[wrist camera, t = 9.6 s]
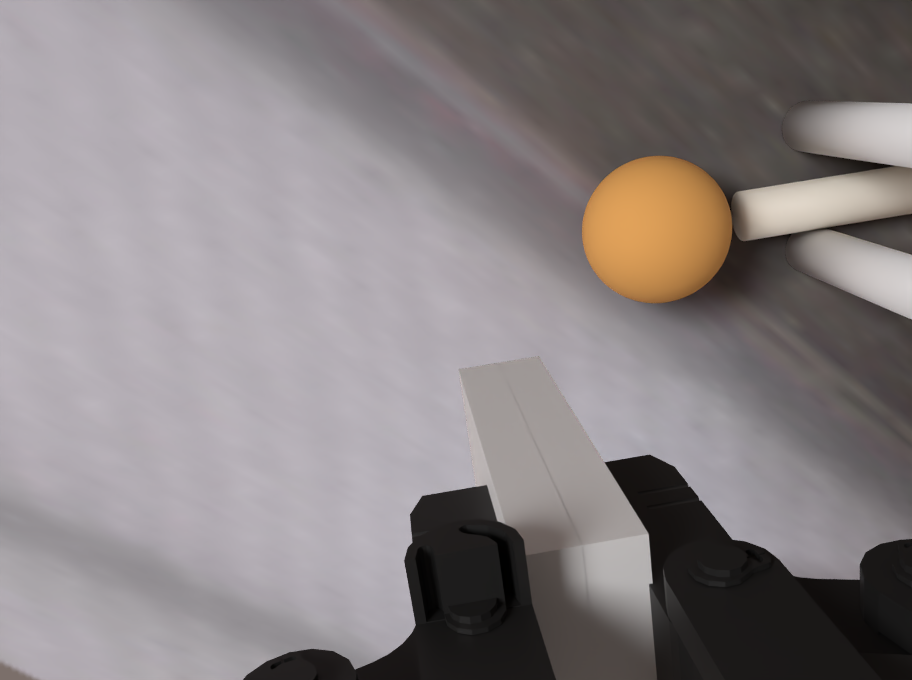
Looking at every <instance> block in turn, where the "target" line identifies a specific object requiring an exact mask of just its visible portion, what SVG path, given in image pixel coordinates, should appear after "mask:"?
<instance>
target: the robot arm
mask: <svg viewBox="0 0 912 680" xmlns="http://www.w3.org/2000/svg"><path fill="white" fill-rule="evenodd" d="M459 376H460V383H461V390H462V396H463V403H464V410H465V417H466V423H467V430H468V437H469V444H470V451H471V457H472V464H473V471H474V478H475V484H476V487H472V488H466V489H461V490H455V491H449V492H443V493H437V494H431V495H426V496H422V497H421V499H420V500H419V502H418V503H417V505H416V506H415V508H414V510H413V511H412V513H411V514H410V519H411V531H412V542H413V543H412V544H411V545H410V546H409V547H408V549H407V553H406V556H405V560H404V562H405V567H406V573H407V578H408V584H409V590H410V595H411V601H412V606H413V612H414V617H415V623H416V626H415V628H414V630H413V632H412V634H411V635H410V636H409V637H408V638H407V639H406V641H405V642H404V643H403V644H402V645H401V646H399V647H398V648H397V649H395V650H394V651H393V652H391V653H390V654H388V655H386V656H384V657H382V658H380V659H378V660H376V661H375V662H373V663H370V664H368V665H365V666H363V667H360V668H358V669H356V670H355V669H354V668H353V666H352V664H351V662H350V661H349V659H347V658H345V657H343V656H341V655H339V654H337V653H336V652H334V651H327V650H318V649H309V650H302V651H296V652H289V653H287V654H284V655H282V656H279V657H277V658H274V659H272V660H269V661H267V662H265V663H264V664H262V665H261V666H259V667H258V668H257V669H255V670H254V671H252V672H251V673H249V674H248V675H247V676H246V677H245V678H244V679H243V680H912V539H906V540H898V541H893V542H888V543H883V544H880V545H878V546H876V547H874V548H873V549H871V550H869V551H867V552H866V553H865V555H864V557H863V559H862V561H861V563H860V580H839V579H812V578H800V577H794V576H793V575H792V574H791V573H790V572H789V571H788V570H787V568H786V567H785V566H784V565H783V564H782V563H781V561H780V560H779V559H778V558H776V557H775V556H774V555H772V554H771V553H770V552H768V551H767V550H766V549H764V548H761V547H759V546H756V545H753V544H751V543H748V542H745V541H737V540H732V539H731V537H730V536H729V535H728V534H727V532H726V531H725V530H724V528H723V527H722V526H721V525H720V523H719V522H718V521H717V520H716V518H715V517H714V516H713V515H712V513H711V512H710V511H709V510H708V508H707V507H706V506H705V505H704V503H703V502H702V501H699V498H698V496H697V495H696V493H695V492H694V491H693V490H692V488H691V487H688V483H687V482H686V481H685V479H684V478H683V477H682V476H681V474H680V473H679V472H678V471H677V469H676V468H675V467H674V466H672V465H670V464H668V463H666V462H664V461H662V460H660V459H658V458H655V457H653V456H651V455H645V456H639V457H633V458H627V459H621V460H616V461H610V462H604V461H603V459H602V458H601V456H600V454H599V453H598V451H597V450H596V448H595V446H594V445H593V443H592V442H591V440H590V438H589V437H588V435H587V433H586V432H585V430H584V429H583V427H582V425H581V424H580V422H579V421H578V419H577V417H576V416H575V414H574V412H573V411H572V409H571V408H570V406H569V404H568V403H567V401H566V400H565V398H564V396H563V395H562V393H561V391H560V390H559V388H558V387H557V385H556V383H555V382H554V380H553V378H552V377H551V375H550V374H549V372H548V370H547V369H546V367H545V366H544V364H543V362H542V361H541V359H540V357H539V356H537V357H531V358H525V359H519V360H513V361H507V362H501V363H495V364H488V365H482V366H476V367H470V368H464V369H459Z"/></svg>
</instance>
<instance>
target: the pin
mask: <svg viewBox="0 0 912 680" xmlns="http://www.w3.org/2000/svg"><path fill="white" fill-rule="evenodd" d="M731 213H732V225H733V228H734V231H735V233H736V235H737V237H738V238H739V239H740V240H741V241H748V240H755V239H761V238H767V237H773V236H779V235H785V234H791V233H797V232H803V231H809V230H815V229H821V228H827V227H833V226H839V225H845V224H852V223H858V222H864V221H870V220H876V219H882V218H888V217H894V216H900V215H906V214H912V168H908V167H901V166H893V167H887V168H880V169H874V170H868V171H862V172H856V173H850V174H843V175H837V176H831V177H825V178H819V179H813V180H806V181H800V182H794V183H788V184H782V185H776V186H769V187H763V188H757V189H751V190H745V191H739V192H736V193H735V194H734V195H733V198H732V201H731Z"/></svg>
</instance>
